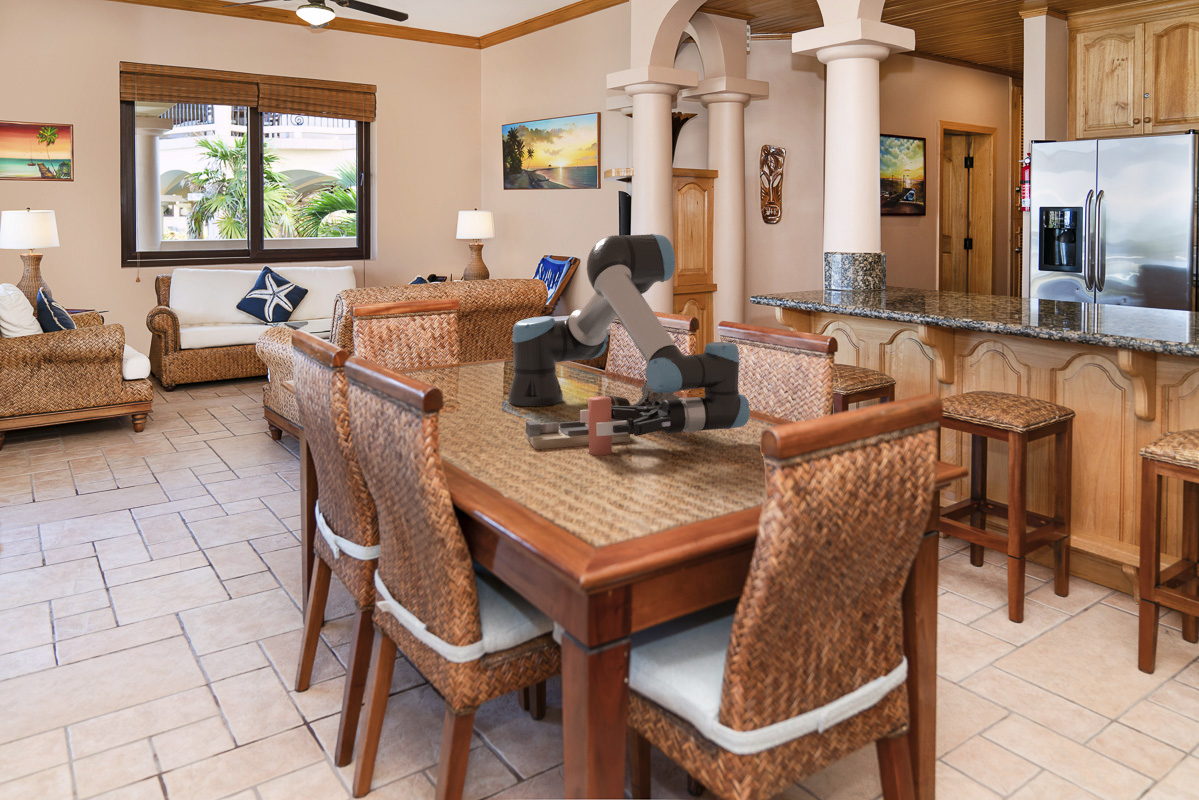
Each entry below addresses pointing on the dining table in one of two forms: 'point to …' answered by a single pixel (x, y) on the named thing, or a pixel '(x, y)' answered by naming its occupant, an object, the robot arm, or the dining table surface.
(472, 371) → the dining table surface
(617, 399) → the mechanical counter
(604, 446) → the red tall block
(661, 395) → the mineral specimen
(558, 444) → the beige and grey fixture
